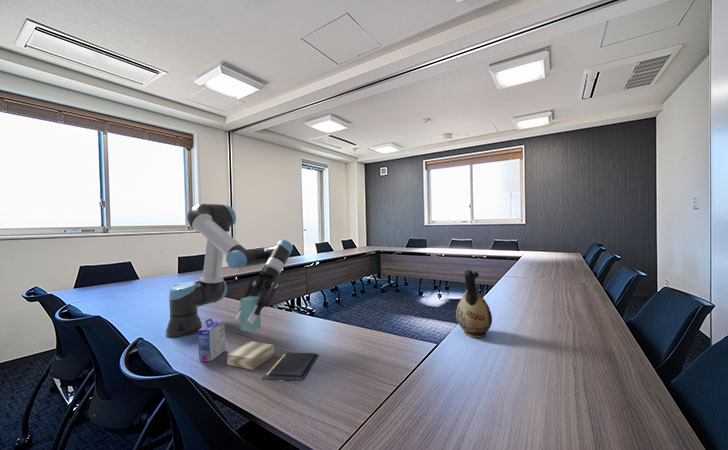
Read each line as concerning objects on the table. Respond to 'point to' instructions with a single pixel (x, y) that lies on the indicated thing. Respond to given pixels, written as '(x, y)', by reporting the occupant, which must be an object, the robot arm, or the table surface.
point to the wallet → (291, 367)
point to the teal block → (246, 310)
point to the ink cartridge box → (211, 340)
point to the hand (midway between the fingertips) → (243, 321)
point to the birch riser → (250, 355)
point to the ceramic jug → (473, 309)
